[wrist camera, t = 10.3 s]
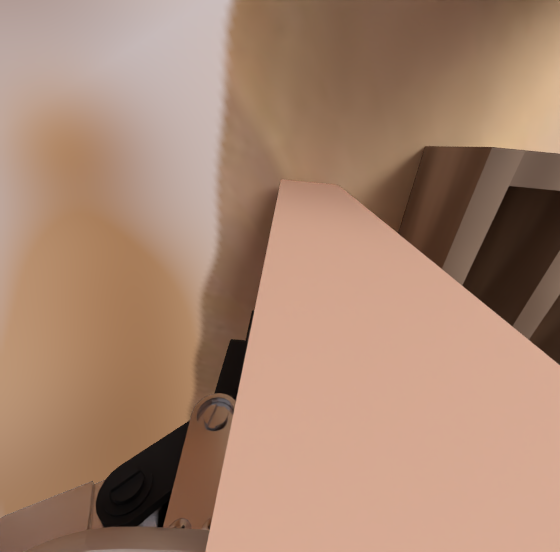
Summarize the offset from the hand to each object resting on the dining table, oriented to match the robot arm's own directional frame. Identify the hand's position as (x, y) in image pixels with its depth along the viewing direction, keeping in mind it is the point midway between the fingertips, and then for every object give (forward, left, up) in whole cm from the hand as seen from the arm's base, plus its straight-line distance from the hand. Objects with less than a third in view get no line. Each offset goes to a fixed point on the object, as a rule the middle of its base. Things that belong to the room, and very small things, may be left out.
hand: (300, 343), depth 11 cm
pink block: (0, 0, -6) cm, 6 cm away
